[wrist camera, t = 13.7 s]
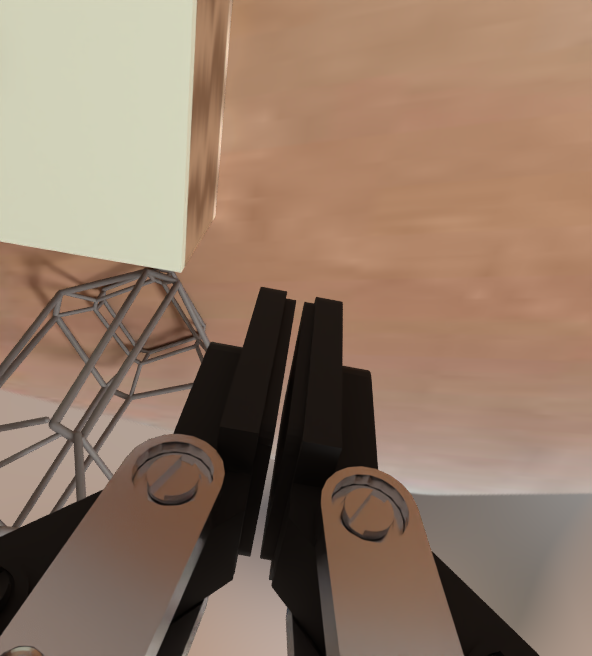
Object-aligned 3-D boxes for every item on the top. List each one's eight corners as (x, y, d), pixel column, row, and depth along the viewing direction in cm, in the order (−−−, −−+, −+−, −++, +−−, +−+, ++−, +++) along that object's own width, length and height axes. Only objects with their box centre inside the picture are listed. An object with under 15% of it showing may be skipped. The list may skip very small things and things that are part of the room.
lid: (-144, -221, 23) (-162, -229, 22) (203, -148, 24) (199, -153, 23) (-43, 226, 35) (-52, 232, 34) (184, 266, 36) (181, 272, 35)
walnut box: (-9, -159, 32) (-136, -217, 23) (241, -108, 32) (204, -148, 24) (34, 182, 44) (-39, 224, 35) (215, 216, 44) (184, 266, 36)
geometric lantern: (253, 355, 52) (126, 809, 23) (125, 384, 56) (-118, 799, 27) (187, 218, 44) (-130, 649, 15) (43, 263, 48) (-418, 670, 19)
